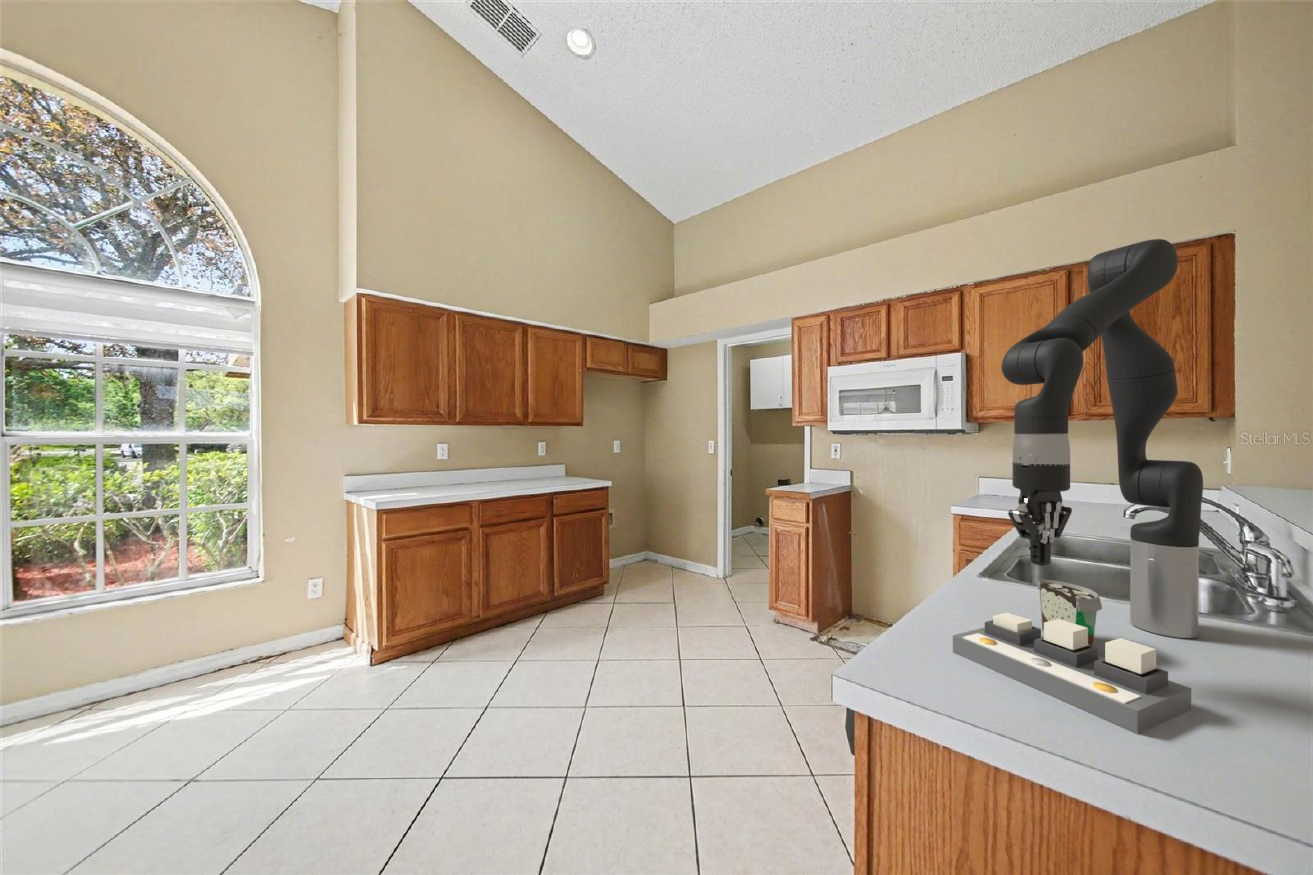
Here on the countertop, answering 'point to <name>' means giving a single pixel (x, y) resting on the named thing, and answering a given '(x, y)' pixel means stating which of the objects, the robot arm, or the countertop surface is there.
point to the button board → (1077, 676)
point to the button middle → (1066, 634)
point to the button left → (1012, 622)
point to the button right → (1130, 655)
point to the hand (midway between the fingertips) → (1040, 564)
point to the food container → (1069, 604)
